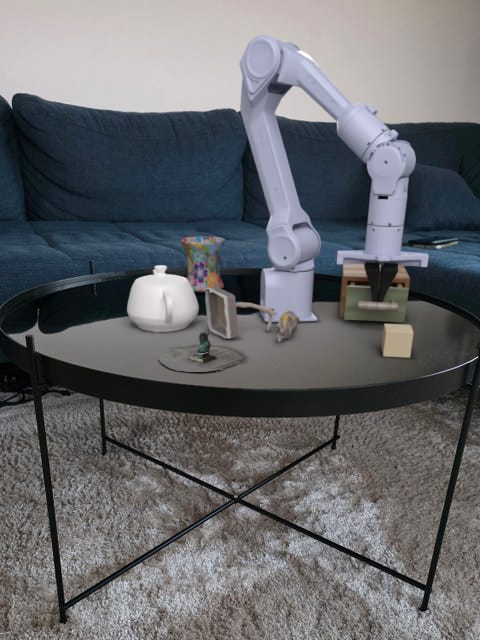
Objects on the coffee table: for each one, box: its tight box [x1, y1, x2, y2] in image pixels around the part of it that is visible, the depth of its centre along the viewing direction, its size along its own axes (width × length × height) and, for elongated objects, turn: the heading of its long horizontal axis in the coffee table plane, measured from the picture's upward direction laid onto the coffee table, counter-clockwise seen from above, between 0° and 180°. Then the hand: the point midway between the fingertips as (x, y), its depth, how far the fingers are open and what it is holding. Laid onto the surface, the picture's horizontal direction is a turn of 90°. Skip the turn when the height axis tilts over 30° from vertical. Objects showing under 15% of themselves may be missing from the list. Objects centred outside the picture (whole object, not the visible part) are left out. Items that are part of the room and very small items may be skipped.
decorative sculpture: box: [204, 287, 301, 343], centre depth 97 cm, size 16×10×7 cm, turn 94°
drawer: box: [343, 281, 410, 323], centre depth 105 cm, size 16×10×6 cm, turn 171°
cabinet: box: [339, 264, 411, 319], centre depth 112 cm, size 13×12×8 cm
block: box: [381, 323, 414, 359], centre depth 90 cm, size 4×4×4 cm
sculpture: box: [158, 331, 243, 371], centre depth 88 cm, size 12×9×8 cm
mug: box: [180, 235, 226, 294], centre depth 127 cm, size 12×9×11 cm
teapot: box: [126, 264, 200, 333], centre depth 102 cm, size 20×12×10 cm, turn 14°
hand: (376, 308), depth 101 cm, fingers closed, pressing on drawer
